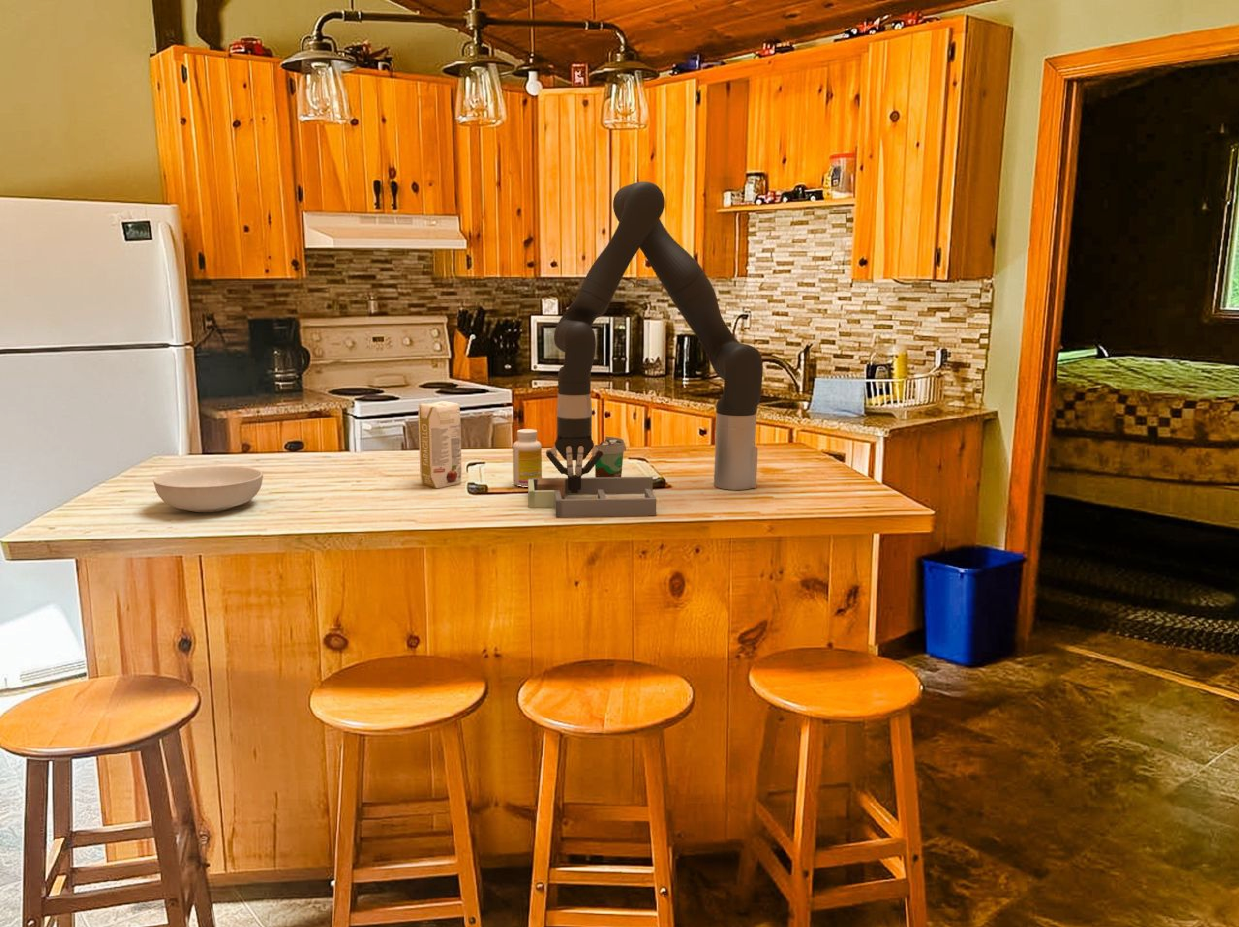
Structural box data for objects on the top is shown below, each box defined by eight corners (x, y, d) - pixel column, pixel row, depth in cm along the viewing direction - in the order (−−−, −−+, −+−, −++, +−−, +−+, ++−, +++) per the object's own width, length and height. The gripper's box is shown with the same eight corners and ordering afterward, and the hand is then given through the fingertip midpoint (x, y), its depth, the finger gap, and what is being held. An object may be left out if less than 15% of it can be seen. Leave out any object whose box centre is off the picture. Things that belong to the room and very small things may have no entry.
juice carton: (466, 483, 222) (464, 403, 218) (435, 489, 215) (433, 407, 211) (446, 478, 227) (444, 399, 223) (416, 484, 220) (413, 403, 216)
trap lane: (651, 491, 216) (652, 476, 215) (665, 515, 196) (666, 499, 195) (528, 493, 213) (528, 478, 212) (529, 517, 193) (529, 501, 192)
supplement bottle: (547, 485, 221) (547, 431, 218) (523, 489, 217) (523, 434, 214) (531, 480, 226) (531, 427, 223) (507, 484, 222) (507, 430, 219)
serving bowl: (261, 516, 192) (259, 483, 190) (147, 523, 186) (144, 489, 184) (268, 492, 211) (266, 462, 210) (165, 498, 205) (162, 467, 204)
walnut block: (565, 495, 212) (565, 478, 212) (565, 502, 207) (565, 484, 206) (538, 495, 212) (538, 478, 211) (537, 502, 206) (537, 484, 205)
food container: (620, 489, 218) (620, 446, 216) (594, 488, 219) (594, 445, 217) (630, 478, 230) (631, 437, 228) (605, 476, 231) (605, 436, 229)
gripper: (603, 411, 209) (602, 487, 213) (543, 411, 208) (543, 488, 211) (606, 416, 202) (605, 496, 205) (544, 417, 200) (544, 496, 204)
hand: (574, 492), depth 208 cm, fingers closed
